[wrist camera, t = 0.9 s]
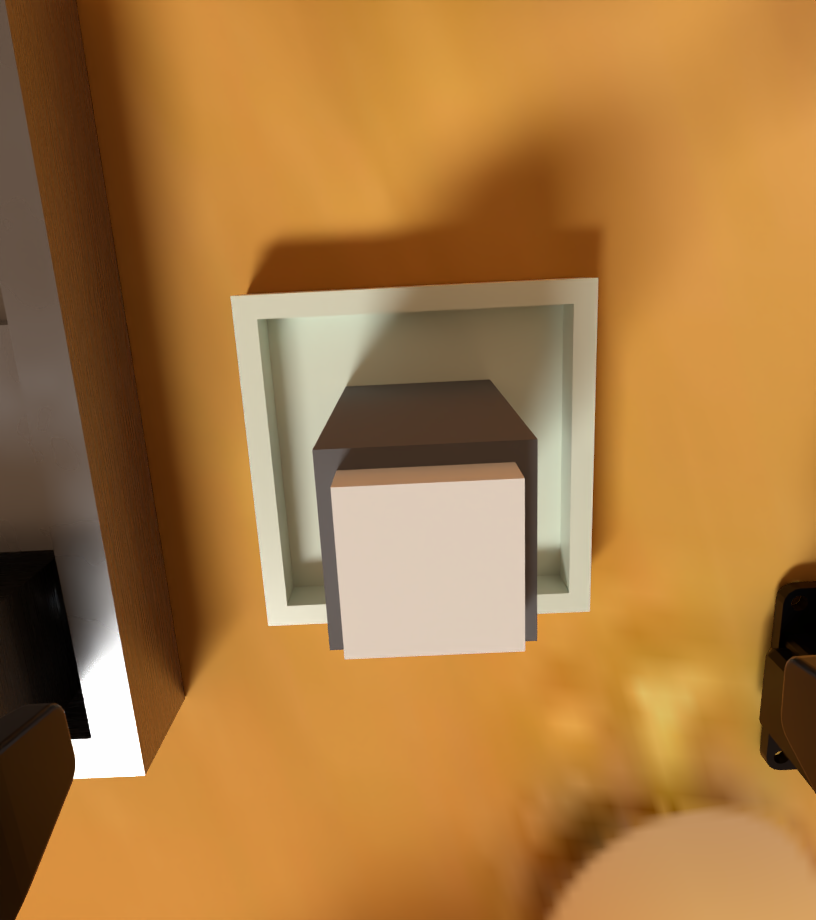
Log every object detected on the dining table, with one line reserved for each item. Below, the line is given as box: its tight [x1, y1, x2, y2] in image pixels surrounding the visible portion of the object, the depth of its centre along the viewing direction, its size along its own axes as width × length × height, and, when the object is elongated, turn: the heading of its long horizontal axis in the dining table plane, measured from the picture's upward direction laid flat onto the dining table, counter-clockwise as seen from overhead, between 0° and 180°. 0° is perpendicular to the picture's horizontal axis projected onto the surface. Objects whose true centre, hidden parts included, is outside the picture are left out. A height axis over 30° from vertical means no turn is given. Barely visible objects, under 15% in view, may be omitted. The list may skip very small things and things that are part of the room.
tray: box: [231, 277, 598, 626], centre depth 19 cm, size 9×9×2 cm
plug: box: [312, 379, 538, 659], centre depth 15 cm, size 4×4×8 cm
